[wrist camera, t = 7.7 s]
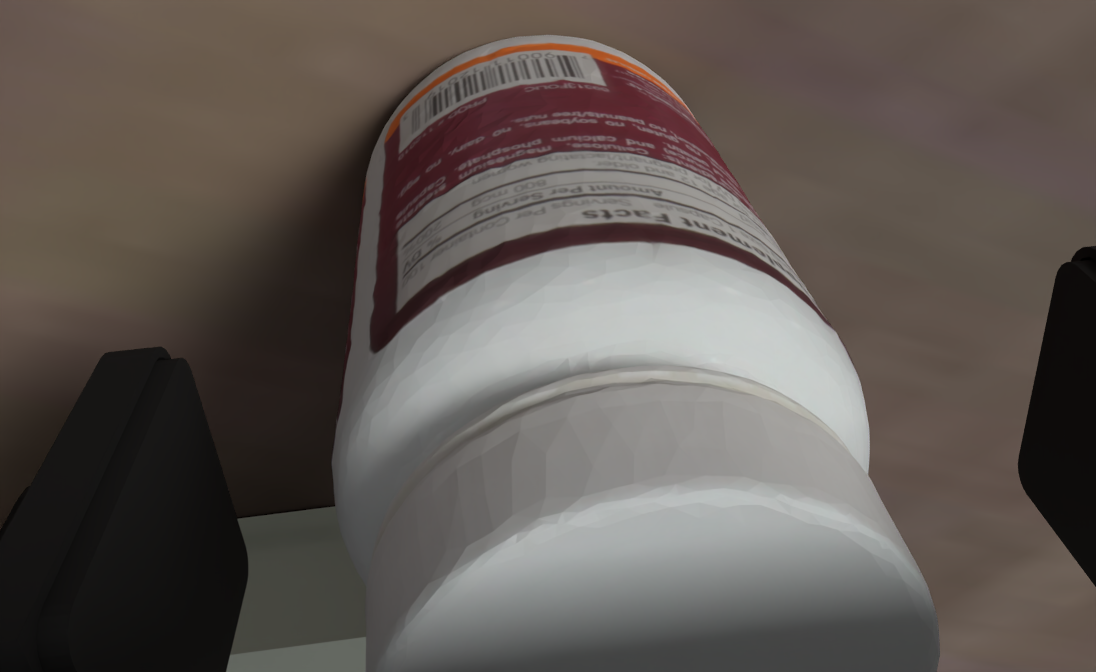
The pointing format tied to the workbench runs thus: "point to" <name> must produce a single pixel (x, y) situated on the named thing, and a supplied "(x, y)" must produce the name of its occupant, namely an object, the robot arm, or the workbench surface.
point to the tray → (299, 597)
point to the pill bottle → (599, 398)
